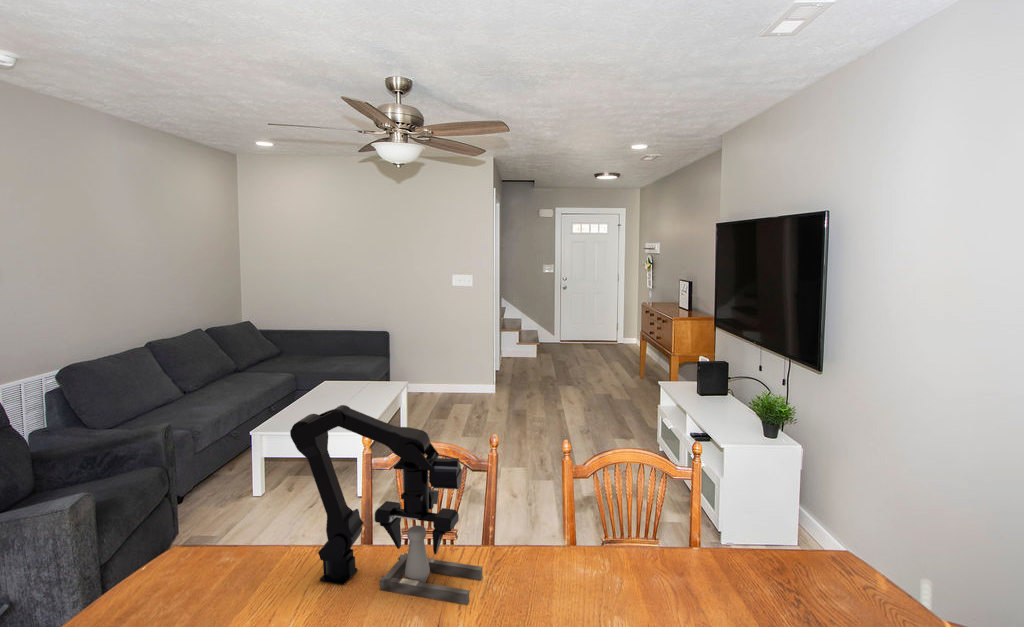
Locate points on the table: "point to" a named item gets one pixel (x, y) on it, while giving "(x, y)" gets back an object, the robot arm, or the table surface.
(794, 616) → the table surface
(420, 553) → the salt shaker
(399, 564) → the guide rails
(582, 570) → the table surface
